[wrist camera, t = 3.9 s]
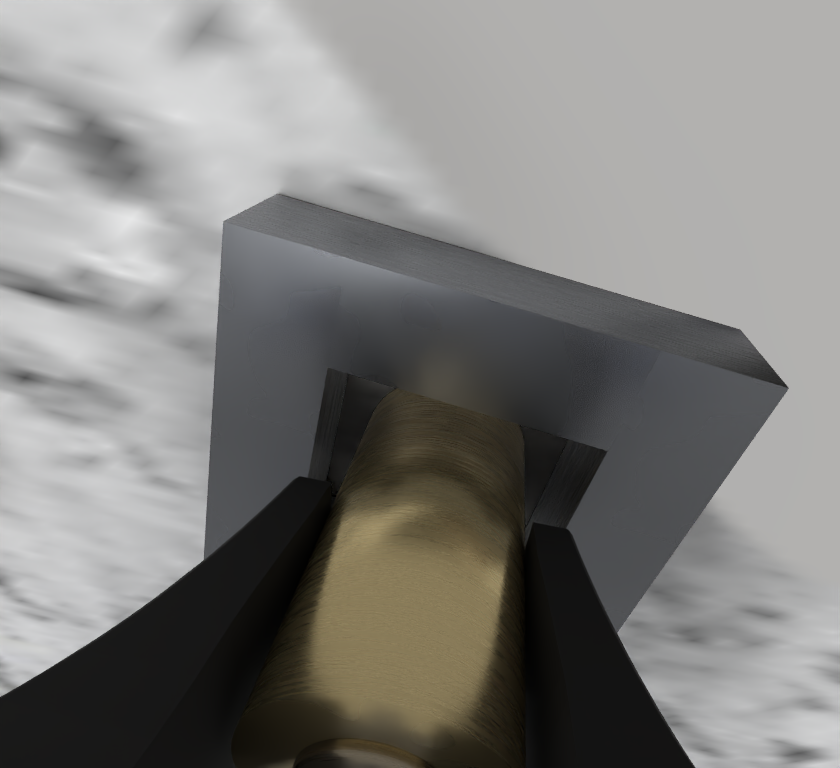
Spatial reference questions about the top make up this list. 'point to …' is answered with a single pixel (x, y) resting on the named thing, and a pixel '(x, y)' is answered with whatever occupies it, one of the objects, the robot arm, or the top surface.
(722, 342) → the housing
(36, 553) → the top surface
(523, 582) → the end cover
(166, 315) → the top surface
